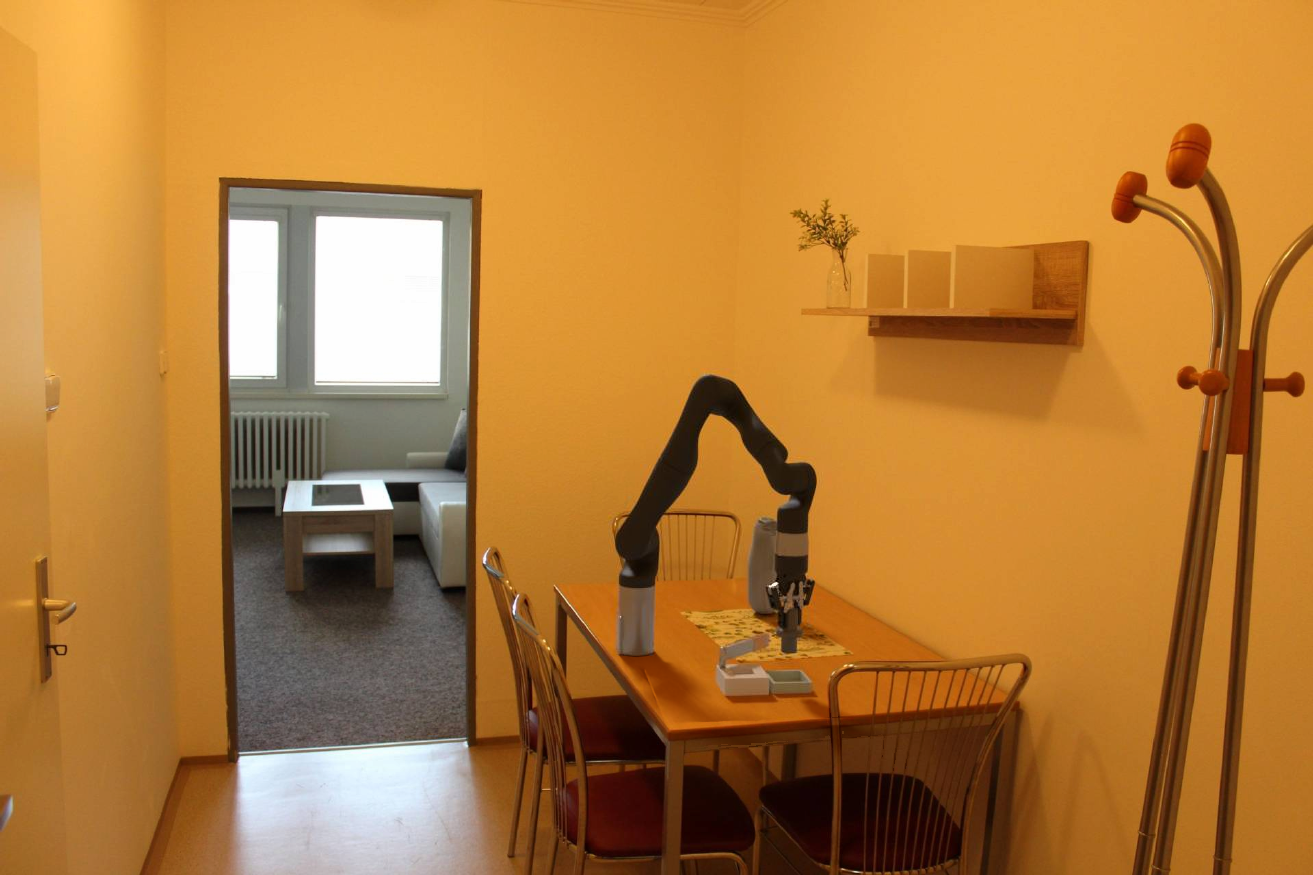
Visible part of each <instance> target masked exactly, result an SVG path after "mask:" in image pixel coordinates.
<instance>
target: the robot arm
mask: <svg viewBox="0 0 1313 875" xmlns="http://www.w3.org/2000/svg"><path fill="white" fill-rule="evenodd" d="M710 415H713V416H717V417H718V416H719V417H723V418H724V419H725V420H727V421H728V422H729V423H731V424H732V425H733V426H734V427H735V428H736V430H737V431H738V433H739V435H740V438H741V441H742V444H743V446H744V448H745V449H746V451H747V452H748V454H750V455H751V456H752V458H753V459H754V460H755V461H756V462H757V463H758V465H760V466H761V469H762V470H763V473H764V476H765V477H766V480H767V482H768V483H769V486H770V487H771V488H772V489H773V491H775V493H777V494H779V495H782V496H789V499H788V501H787V502H786V503H784V504H782V505H780V506H779V507H778V508H777V511H776V522H777V531H776V538H775V563H774V570H775V572H776V574H777V577H776V580H775V583H774V584H772V585H771V586H769V585H767V586H766V592H767V596H768V599H769V603H770V607H771V609H774V610H776V612H777V626H778V627H780V628H783V629H786V628H787V627H788V613H787V611H788V606H790V605H789V604H791V607H796V608H798V627H800V626H801V623H802V618H803V617H802V616H803V609H804V607H805V606H806V607H807V606H809V605H810V602H811V598H812V595H813V591H814V588H815V584H816V581H815V580H814V579H810V578H807V576H806V574H807V573H808V571H809V553H810V552H809V550H810V549H809V548H810V546H809V544H810V541H809V540H810V538H809V515H810V510H811V507H812V504H813V500H814V497H815V493H816V490H817V486H818V485H817V483H818V479H817V478H818V477H817V472H816V470H815V469H814V467H813V466H812V465H811V464H810V463H809V462H806V461H805V462H803V461H800V462H791V463H790V462H787V460H788V458H789V450H788V449H787V447H786V446H785V445H784V443H783V442H781V441H780V439H779V438H778V437H777V436H776V435H775V434H774V433H773V432H772V431H771V430H770V429H769V428H768V426H766V424H765V423H764V422H763V421H762V420H761V418H760V417H759V416H758V415H757V413H756V412H755V410H754V409H753V407H752V406H751V404H750V403H749V402H748V400H747V398H746V397H745V395H744V393H743V391H742V390H741V389H740V387H739V386H738V384H737V383H735V381H733V380H731V379H730V378H725V377H723V376H719V375H715V374H710V373H709V374H708V373H707V374H703V375H702V376H700V377H699V378H697V380H696V381H695V383H694V385H692V388H691V390H690V393H689V394H688V396H687V399H686V401H685V404H684V406H683V409H682V412H681V415H680V417H679V418H678V421H677V423H676V424H675V427H674V428H673V431H672V434H671V435H670V437H669V439H668V440H667V443H666V444H665V447H664V449H662V452H661V454H660V455H659V457H658V459H657V461H656V463H655V465H654V466H653V468H652V471H651V473H650V475H649V477H648V479H647V480H646V483H645V485H644V487H643V488H642V491H641V493H640V495H639V498H638V500H637V501H636V503H635V505H634V507H633V508H632V510H630V513H629V514H628V515H627V517H626V519H625V520H624V521H623V523H622V524H621V526H619V529H618V530H617V532H616V534H615V538H614V547H615V550H616V552H617V555H618V556H619V557H620V558H621V559H623V560H624V564H623V566H622V569H621V570H620V572H619V574H618V604H617V605H618V606H617V607H618V608H617V612H616V649H617V650H616V651H617V653H618V654H619V655H627V656H634V657H635V656H636V657H638V656H647V655H650V654H653V653H654V651H655V611H656V607H655V605H656V604H655V603H656V577H657V574H658V571H659V566H660V565H659V563H660V534H659V531H658V529H657V527H658V524H660V523H659V522H660V521H661V519H662V517H663V516H664V515H665V514H666V513H667V511H668V510H669V509H670V508H671V507H672V506H673V504H675V502H676V500H678V498H679V497H680V496H681V494H682V493H683V492H684V491H685V489H686V487H687V486H688V484H689V483H690V480H691V479H692V477H693V475H694V473H695V471H696V469H697V466H698V463H699V462H698V461H699V440H700V435H701V431H702V429H703V427H704V426H705V423H706V421H707V419H708V418H709V416H710Z"/></svg>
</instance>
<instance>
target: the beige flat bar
mask: <svg viewBox="0 0 1313 875" xmlns="http://www.w3.org/2000/svg"><path fill="white" fill-rule="evenodd" d="M769 643H770V634H769V633H767V632H762V633H759V634H756V635H752V636H750V637H748V638H745V639H742V640H739V641H736V642H734V643H729V644H727V645H725V646H719V649H718V651H719V652H718V653H719V654H718V665H719V668H726V665H727V661H729V660H732V659H736V658H739V657H741V656H744V655H748V654H749V653H755V652H757V651H760V650H764V649H766V648H768V647H770V644H769Z"/></svg>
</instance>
